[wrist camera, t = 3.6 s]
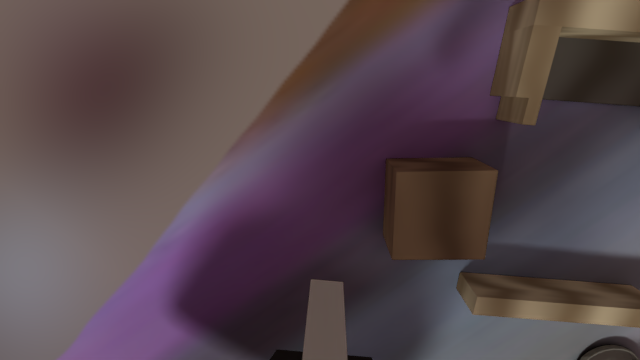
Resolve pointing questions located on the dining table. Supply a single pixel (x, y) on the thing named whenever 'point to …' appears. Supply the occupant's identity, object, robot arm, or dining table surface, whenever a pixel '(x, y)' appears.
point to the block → (438, 208)
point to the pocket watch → (609, 353)
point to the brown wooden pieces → (523, 107)
